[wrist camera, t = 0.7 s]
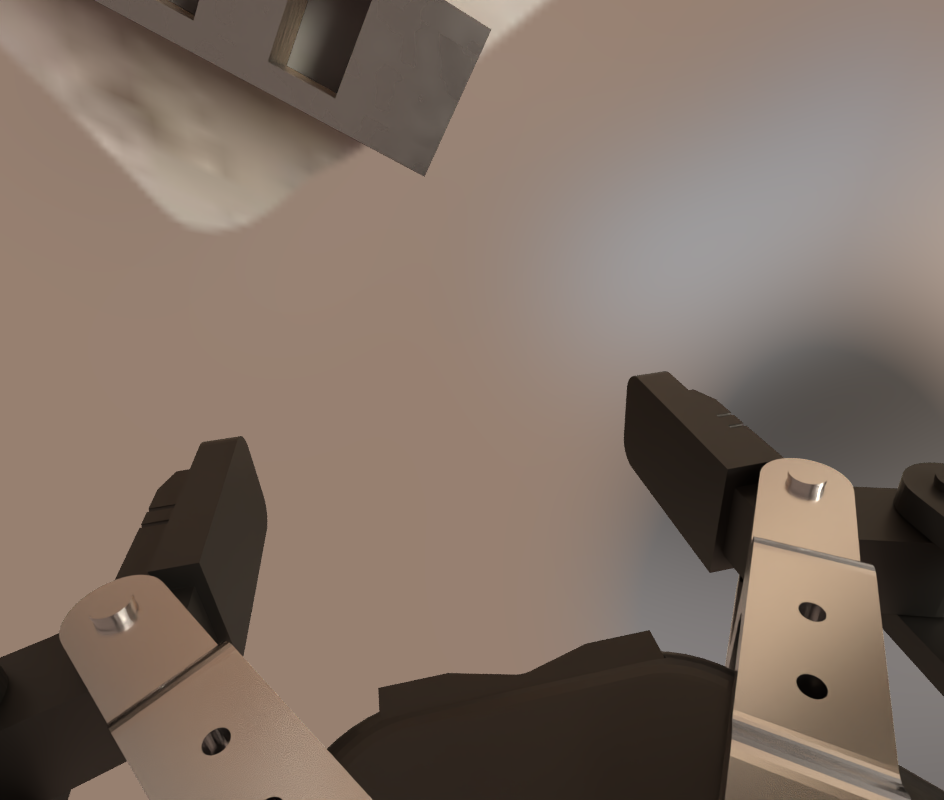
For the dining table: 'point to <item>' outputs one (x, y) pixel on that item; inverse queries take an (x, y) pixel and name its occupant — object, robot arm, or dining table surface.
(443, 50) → the grey slotted bar
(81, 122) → the dining table surface
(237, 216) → the dining table surface
